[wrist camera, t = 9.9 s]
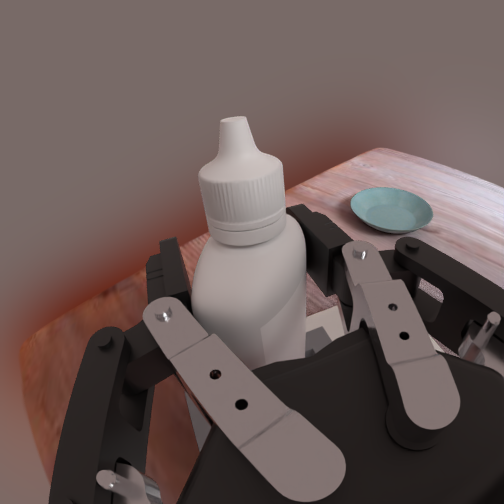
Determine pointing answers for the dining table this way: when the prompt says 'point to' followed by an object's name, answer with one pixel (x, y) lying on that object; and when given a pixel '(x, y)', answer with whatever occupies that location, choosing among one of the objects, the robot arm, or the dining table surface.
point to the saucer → (391, 209)
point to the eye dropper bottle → (250, 254)
